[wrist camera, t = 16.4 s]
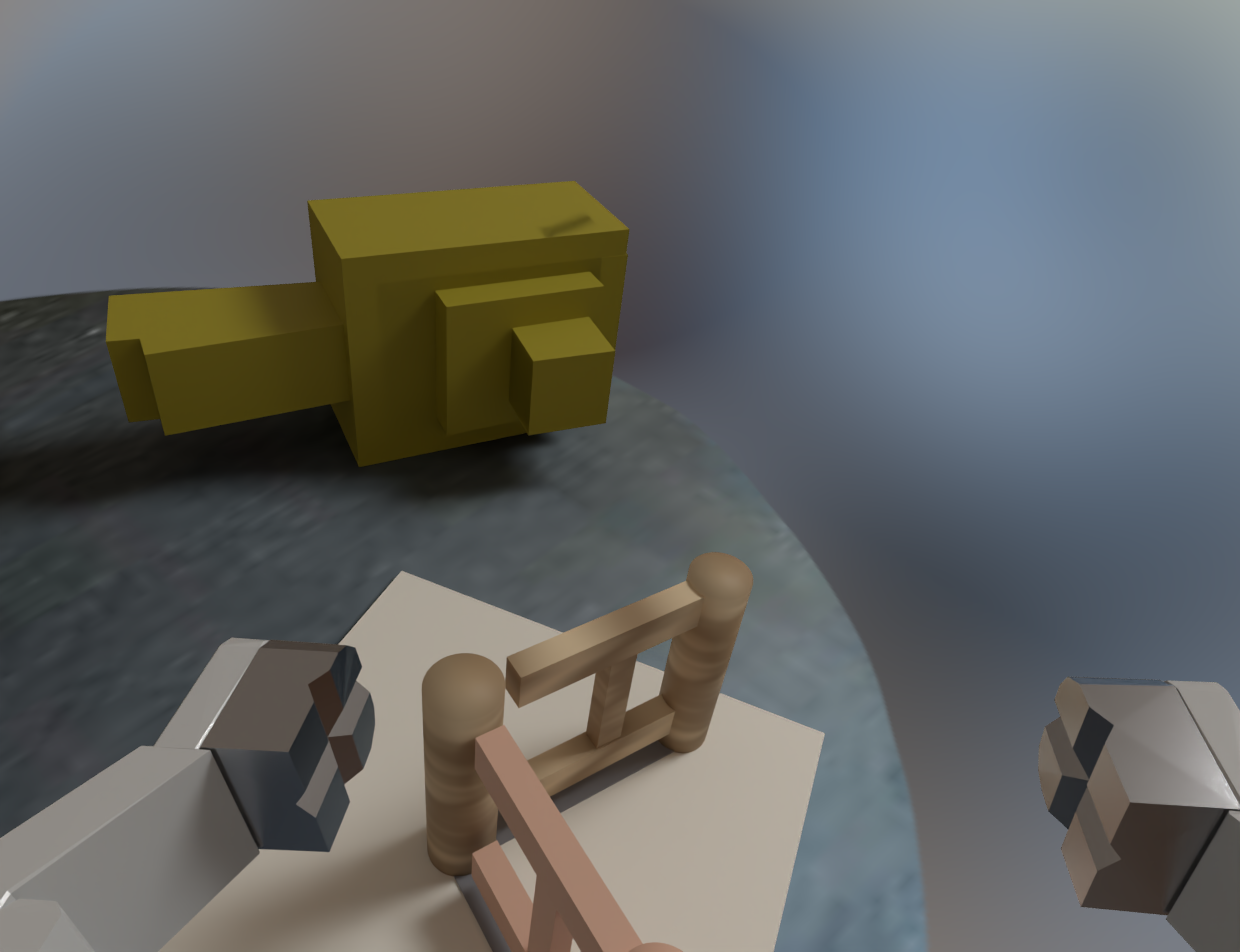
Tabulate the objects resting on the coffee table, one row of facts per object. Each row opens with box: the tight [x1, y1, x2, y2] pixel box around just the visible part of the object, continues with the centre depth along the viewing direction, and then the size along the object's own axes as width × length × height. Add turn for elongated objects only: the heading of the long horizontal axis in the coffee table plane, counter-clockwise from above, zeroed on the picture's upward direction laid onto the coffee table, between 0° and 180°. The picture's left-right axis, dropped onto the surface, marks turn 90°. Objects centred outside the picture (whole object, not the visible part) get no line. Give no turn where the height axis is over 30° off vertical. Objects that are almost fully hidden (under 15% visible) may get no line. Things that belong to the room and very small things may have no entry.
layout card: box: [158, 571, 825, 952], centre depth 40 cm, size 30×27×1 cm
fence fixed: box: [422, 552, 753, 876], centre depth 41 cm, size 16×3×12 cm, turn 124°
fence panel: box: [472, 725, 683, 952], centre depth 32 cm, size 12×3×12 cm, turn 34°
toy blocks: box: [106, 181, 629, 467], centre depth 60 cm, size 35×16×16 cm
